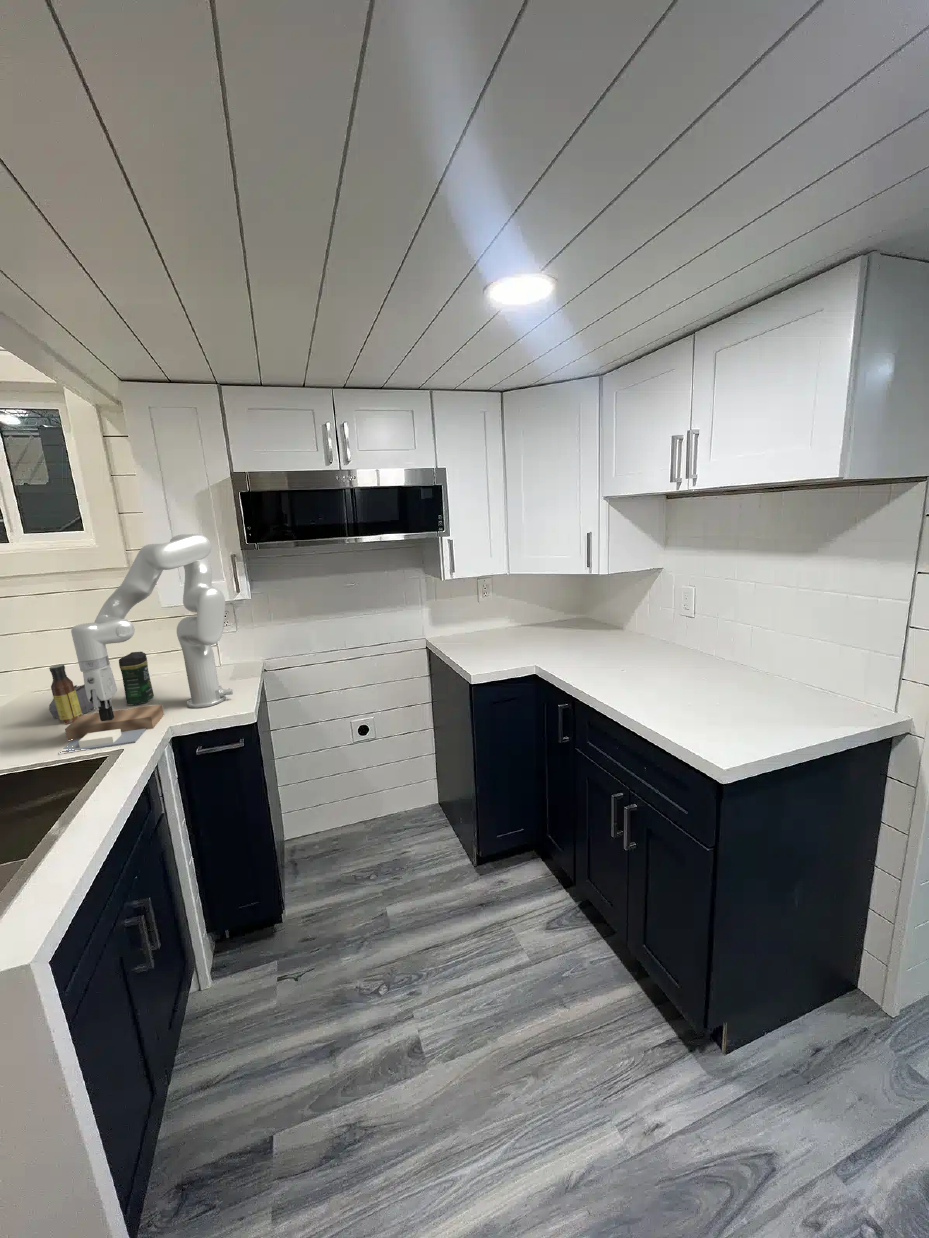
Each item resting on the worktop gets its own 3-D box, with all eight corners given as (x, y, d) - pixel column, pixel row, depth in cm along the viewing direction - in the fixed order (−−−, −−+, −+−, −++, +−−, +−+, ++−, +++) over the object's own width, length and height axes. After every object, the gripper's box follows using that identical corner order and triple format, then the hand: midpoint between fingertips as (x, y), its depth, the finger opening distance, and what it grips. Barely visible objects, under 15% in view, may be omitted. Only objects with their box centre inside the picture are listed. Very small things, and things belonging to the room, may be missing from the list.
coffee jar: (147, 704, 190) (137, 655, 187) (123, 707, 189) (113, 658, 185) (157, 695, 200) (148, 649, 196) (135, 698, 199) (125, 651, 195)
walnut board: (164, 715, 179) (161, 704, 178) (153, 728, 167) (150, 716, 166) (84, 726, 173) (81, 715, 172) (67, 741, 162) (64, 729, 161)
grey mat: (146, 729, 167) (145, 728, 166) (135, 742, 157) (134, 741, 157) (74, 740, 162) (74, 738, 162) (58, 754, 152) (58, 752, 152)
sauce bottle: (79, 715, 183) (67, 661, 179) (85, 719, 179) (72, 664, 175) (57, 722, 178) (43, 666, 174) (62, 726, 174) (48, 669, 170)
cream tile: (112, 736, 156) (113, 742, 157) (120, 728, 162) (121, 734, 162) (78, 741, 154) (79, 747, 155) (87, 733, 160) (89, 739, 161)
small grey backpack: (71, 702, 199) (40, 722, 179) (66, 682, 197) (35, 700, 178) (114, 697, 201) (89, 716, 182) (110, 677, 200) (84, 694, 180)
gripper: (98, 668, 152) (112, 727, 156) (117, 655, 167) (129, 709, 171) (69, 672, 151) (83, 731, 155) (90, 658, 165) (103, 713, 169)
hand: (107, 719), depth 163 cm, fingers closed
